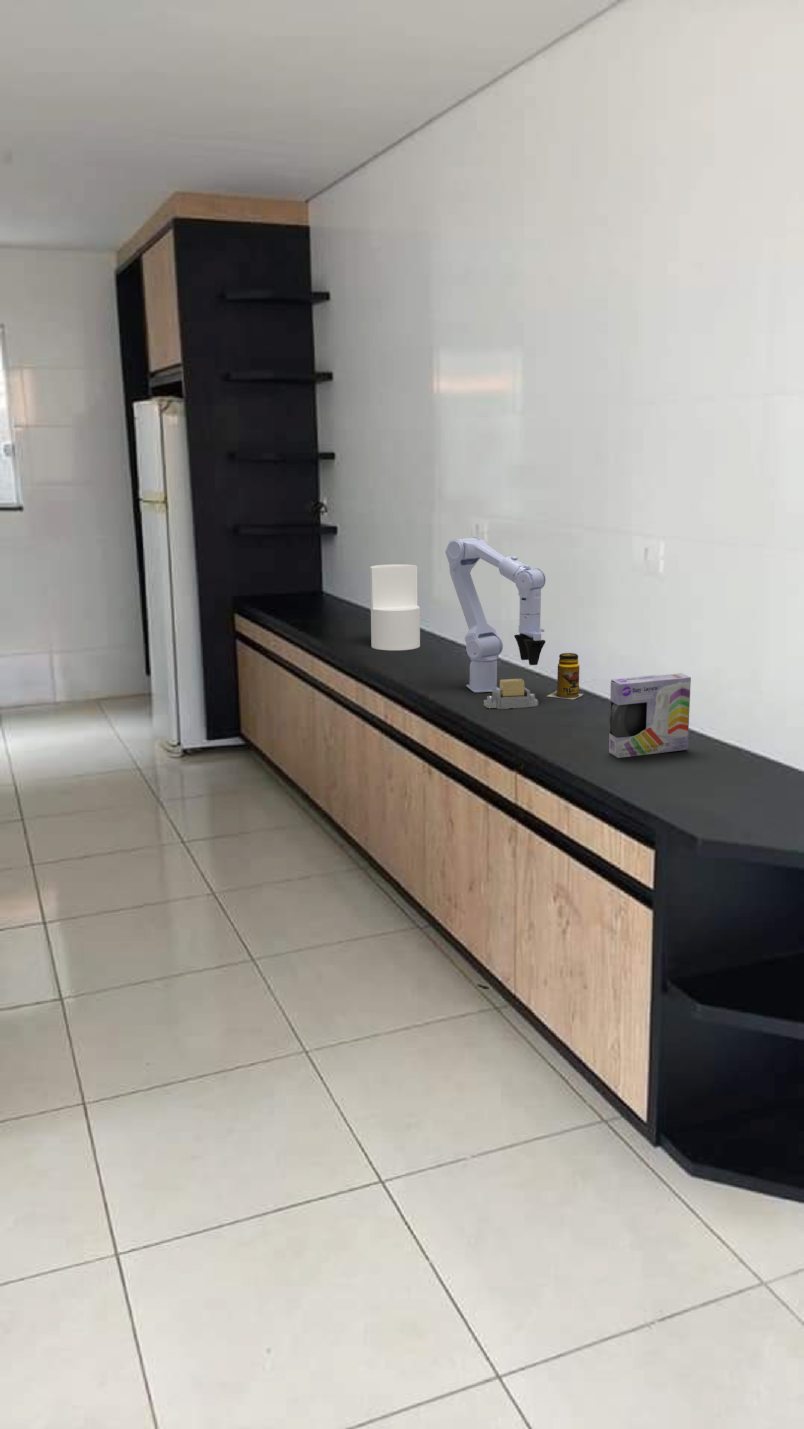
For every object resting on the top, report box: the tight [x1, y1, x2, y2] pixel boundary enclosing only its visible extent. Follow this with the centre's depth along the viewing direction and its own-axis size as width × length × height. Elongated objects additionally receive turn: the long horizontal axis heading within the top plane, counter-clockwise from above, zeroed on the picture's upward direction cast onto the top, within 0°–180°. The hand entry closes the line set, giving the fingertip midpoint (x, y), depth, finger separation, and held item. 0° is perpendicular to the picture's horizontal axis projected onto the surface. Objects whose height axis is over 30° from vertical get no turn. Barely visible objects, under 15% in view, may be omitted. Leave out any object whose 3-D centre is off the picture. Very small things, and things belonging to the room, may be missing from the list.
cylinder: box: [369, 563, 421, 651], centre depth 396 cm, size 17×17×28 cm
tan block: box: [499, 678, 525, 698], centre depth 304 cm, size 3×6×6 cm, turn 101°
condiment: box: [547, 652, 584, 700], centre depth 316 cm, size 7×8×12 cm
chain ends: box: [483, 686, 539, 710], centre depth 305 cm, size 6×14×4 cm, turn 101°
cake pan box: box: [608, 672, 692, 759], centre depth 256 cm, size 19×5×18 cm, turn 106°
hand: (529, 662), depth 312 cm, fingers open, 7 cm apart
